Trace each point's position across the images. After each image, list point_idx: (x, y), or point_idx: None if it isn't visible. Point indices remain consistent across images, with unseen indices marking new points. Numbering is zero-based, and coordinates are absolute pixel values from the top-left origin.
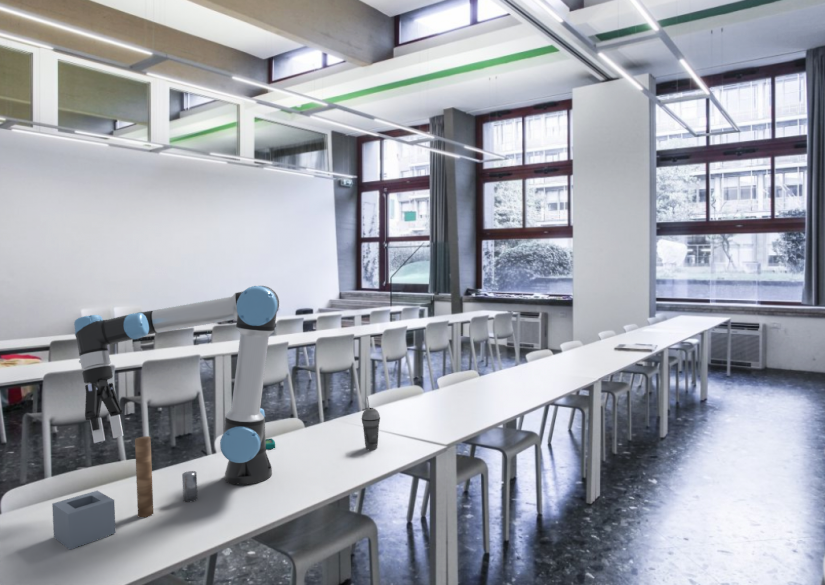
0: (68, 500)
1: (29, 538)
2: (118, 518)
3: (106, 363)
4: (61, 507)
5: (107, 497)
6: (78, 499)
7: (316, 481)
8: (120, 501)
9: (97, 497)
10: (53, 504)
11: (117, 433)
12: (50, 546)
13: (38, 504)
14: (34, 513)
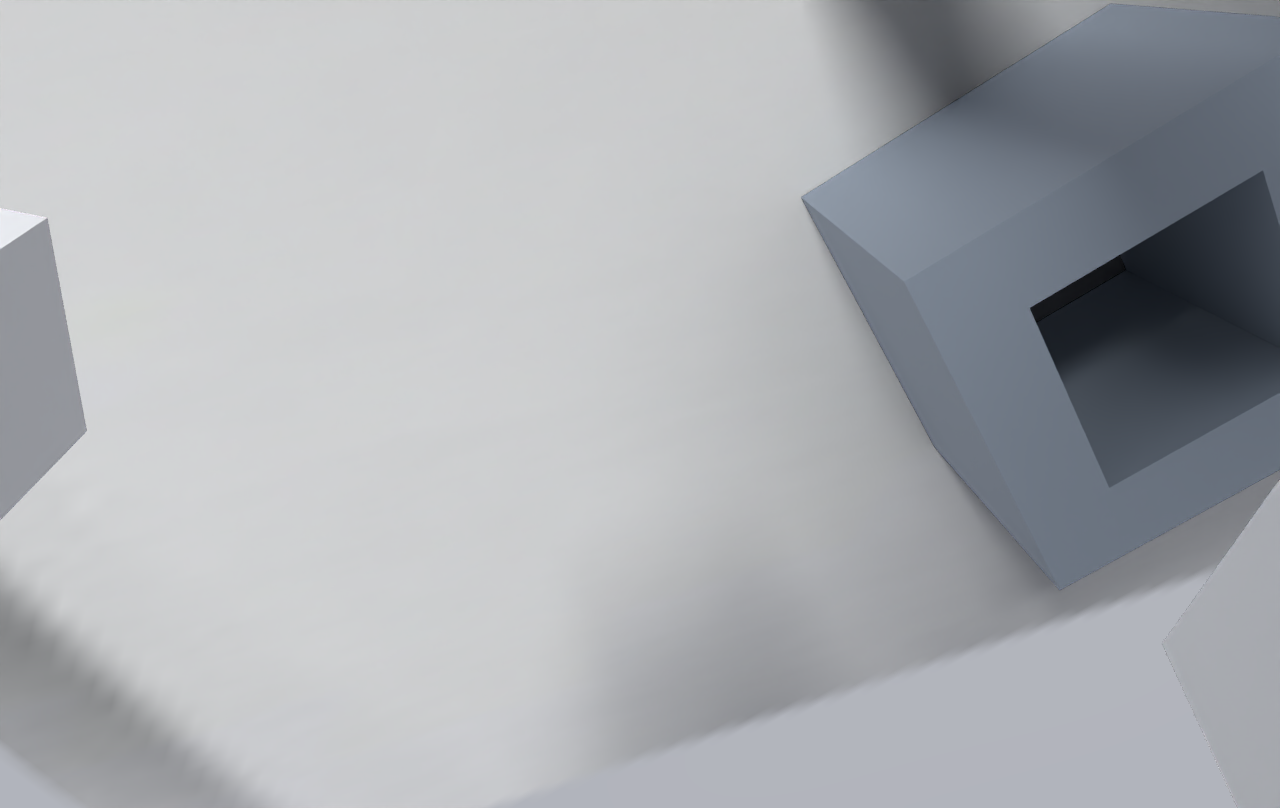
0: (1061, 482)
1: (870, 584)
2: (781, 38)
3: None
4: (1213, 490)
5: (1204, 117)
6: (1069, 403)
7: None
8: (330, 97)
9: (1135, 228)
10: (1086, 574)
11: (7, 380)
12: None
13: (221, 732)
14: (411, 698)
